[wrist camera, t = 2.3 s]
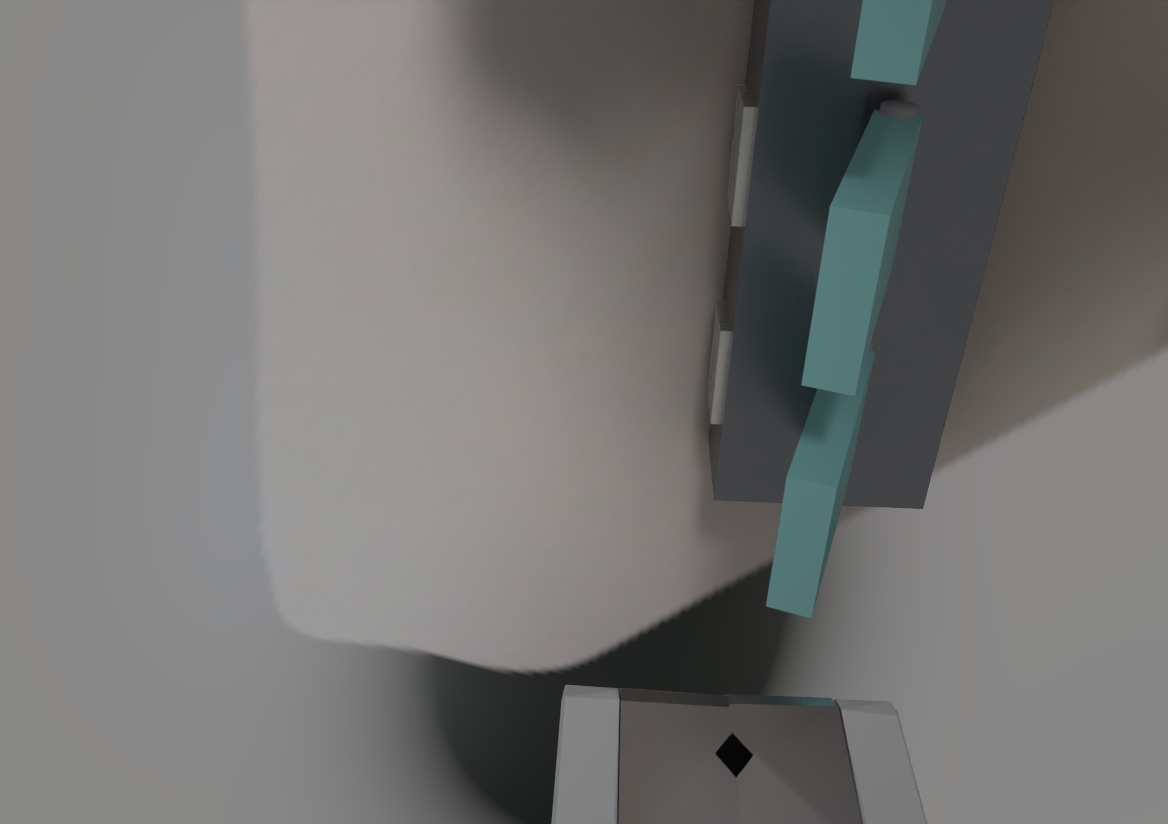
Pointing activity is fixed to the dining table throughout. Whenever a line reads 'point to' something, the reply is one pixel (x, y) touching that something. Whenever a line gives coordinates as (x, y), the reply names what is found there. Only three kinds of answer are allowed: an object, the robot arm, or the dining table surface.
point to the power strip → (799, 220)
